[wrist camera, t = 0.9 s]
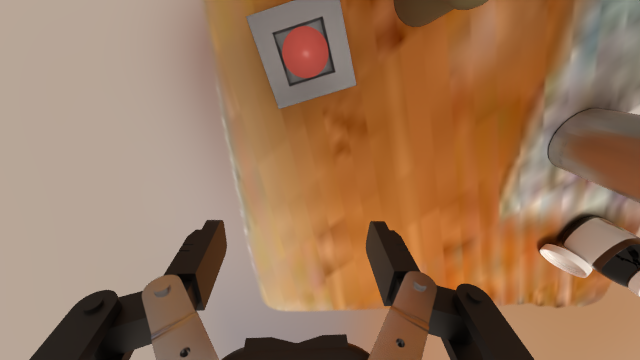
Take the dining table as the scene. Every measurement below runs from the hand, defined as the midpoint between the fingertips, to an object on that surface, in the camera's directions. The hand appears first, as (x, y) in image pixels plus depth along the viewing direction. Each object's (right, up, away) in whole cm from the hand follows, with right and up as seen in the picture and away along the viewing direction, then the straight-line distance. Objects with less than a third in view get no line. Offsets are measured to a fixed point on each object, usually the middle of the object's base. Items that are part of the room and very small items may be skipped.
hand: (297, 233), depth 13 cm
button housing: (-1, +18, +15) cm, 23 cm away
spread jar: (+49, -8, +33) cm, 59 cm away
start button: (0, +16, +12) cm, 21 cm away
